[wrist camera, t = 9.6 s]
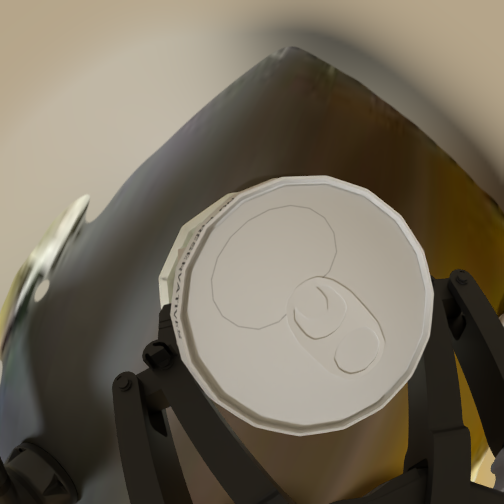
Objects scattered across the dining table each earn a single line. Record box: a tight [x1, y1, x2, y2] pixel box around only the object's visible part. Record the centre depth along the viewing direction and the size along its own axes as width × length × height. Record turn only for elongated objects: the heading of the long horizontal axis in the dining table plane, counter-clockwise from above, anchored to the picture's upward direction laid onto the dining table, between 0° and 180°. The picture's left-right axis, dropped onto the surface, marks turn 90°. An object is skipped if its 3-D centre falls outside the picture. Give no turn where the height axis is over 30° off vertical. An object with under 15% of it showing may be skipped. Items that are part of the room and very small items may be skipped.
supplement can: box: [170, 176, 434, 436], centre depth 14 cm, size 8×8×15 cm
